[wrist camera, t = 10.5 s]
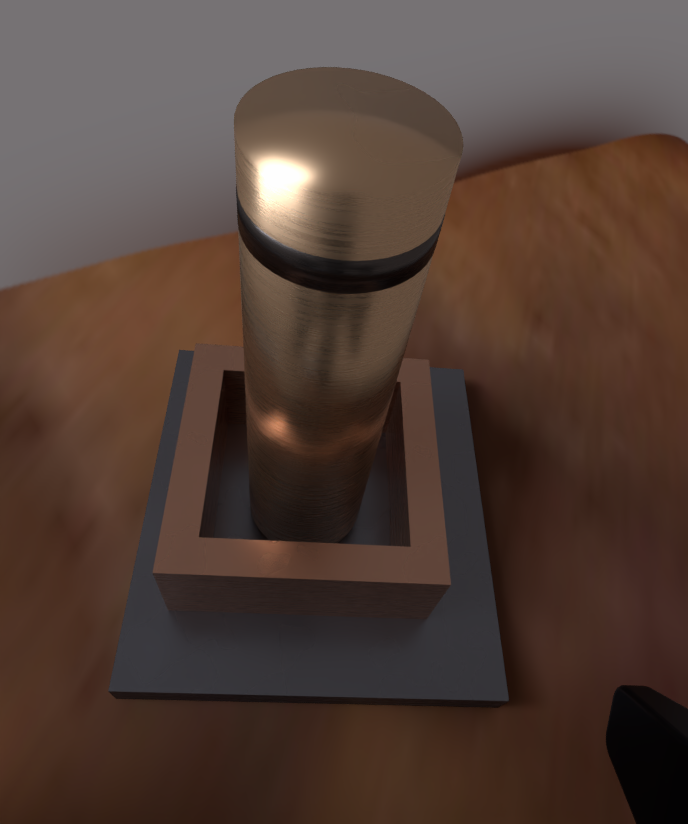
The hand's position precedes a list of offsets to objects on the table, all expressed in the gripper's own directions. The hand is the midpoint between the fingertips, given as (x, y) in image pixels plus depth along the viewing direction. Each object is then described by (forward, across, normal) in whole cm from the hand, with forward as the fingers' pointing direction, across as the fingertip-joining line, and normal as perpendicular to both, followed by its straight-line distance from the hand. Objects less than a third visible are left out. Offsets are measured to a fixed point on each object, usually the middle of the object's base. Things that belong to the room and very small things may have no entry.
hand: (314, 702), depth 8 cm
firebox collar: (+12, 0, +2) cm, 13 cm away
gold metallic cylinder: (+12, 0, +1) cm, 12 cm away
